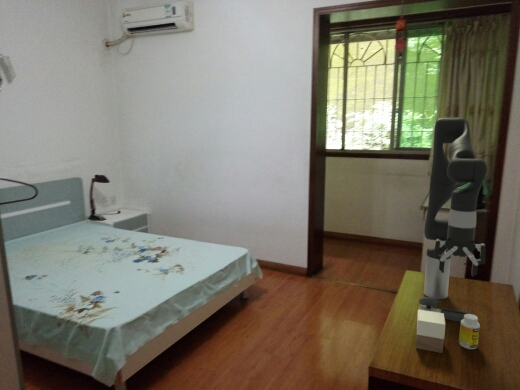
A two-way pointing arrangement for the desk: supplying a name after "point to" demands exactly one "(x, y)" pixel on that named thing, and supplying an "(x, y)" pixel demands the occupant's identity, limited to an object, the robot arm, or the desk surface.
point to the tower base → (429, 343)
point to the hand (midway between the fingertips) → (457, 273)
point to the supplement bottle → (469, 332)
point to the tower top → (431, 324)
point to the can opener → (448, 313)
